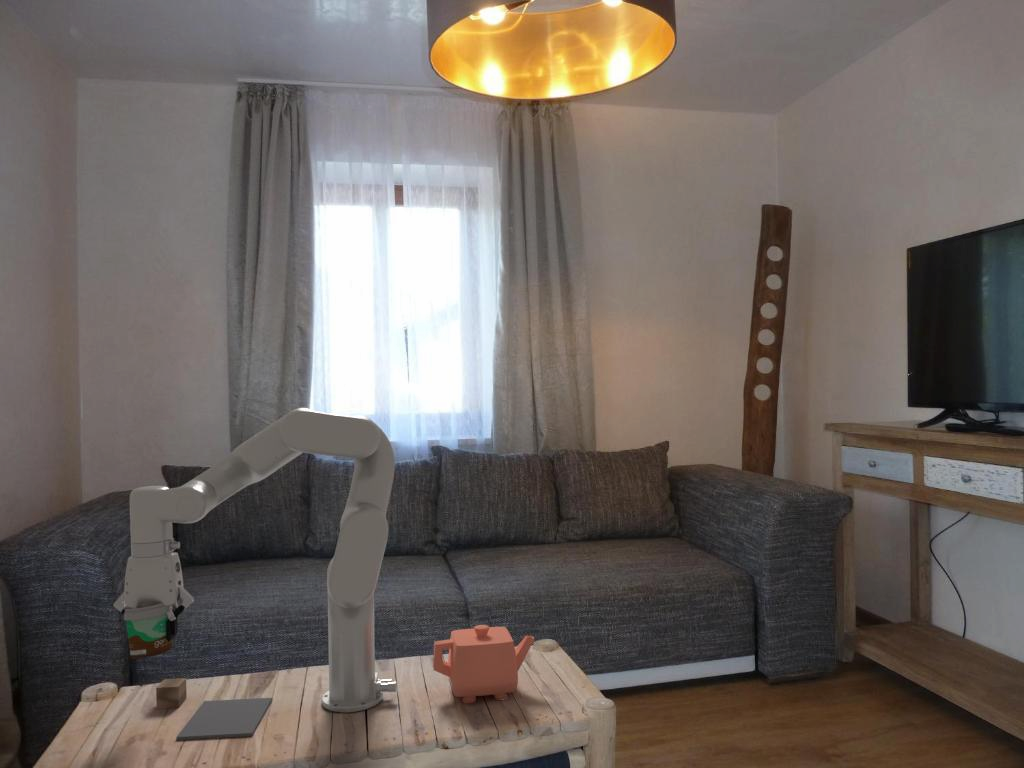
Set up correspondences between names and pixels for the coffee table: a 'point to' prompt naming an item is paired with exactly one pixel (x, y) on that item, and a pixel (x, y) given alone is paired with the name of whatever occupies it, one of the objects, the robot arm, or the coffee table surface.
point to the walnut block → (171, 693)
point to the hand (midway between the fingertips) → (155, 638)
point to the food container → (147, 630)
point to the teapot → (481, 661)
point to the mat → (226, 719)
